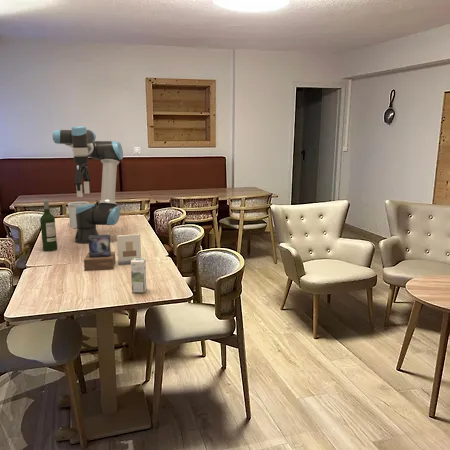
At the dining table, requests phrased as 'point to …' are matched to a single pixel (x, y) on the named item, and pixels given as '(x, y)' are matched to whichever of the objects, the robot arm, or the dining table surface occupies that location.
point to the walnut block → (99, 262)
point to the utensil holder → (74, 212)
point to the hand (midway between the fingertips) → (83, 195)
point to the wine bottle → (48, 229)
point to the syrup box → (138, 275)
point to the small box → (99, 246)
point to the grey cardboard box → (128, 248)
